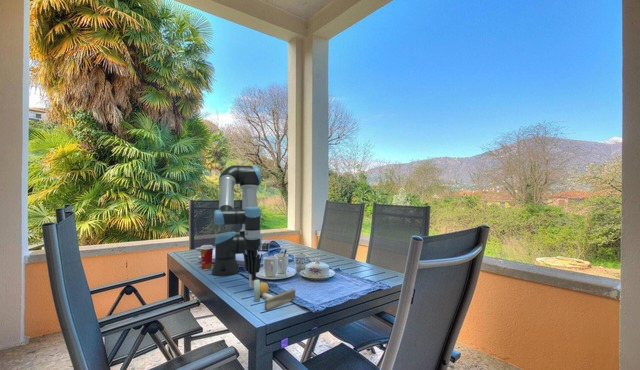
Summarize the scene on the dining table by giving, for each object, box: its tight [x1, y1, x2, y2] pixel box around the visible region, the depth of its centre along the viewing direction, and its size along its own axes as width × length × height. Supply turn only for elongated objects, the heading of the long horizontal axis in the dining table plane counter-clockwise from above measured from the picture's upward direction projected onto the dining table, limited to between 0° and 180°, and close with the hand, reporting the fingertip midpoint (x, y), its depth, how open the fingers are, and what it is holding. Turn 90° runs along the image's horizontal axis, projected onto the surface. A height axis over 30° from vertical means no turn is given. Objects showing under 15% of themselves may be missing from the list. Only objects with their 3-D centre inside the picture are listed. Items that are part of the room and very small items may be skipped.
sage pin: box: [253, 279, 261, 303], centre depth 126 cm, size 2×2×9 cm
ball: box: [260, 281, 270, 297], centre depth 132 cm, size 6×6×6 cm
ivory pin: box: [261, 293, 274, 300], centre depth 126 cm, size 2×2×9 cm
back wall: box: [264, 288, 296, 311], centre depth 122 cm, size 2×16×4 cm, turn 141°
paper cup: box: [199, 244, 214, 270], centre depth 175 cm, size 8×8×14 cm
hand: (252, 286), depth 138 cm, fingers closed
